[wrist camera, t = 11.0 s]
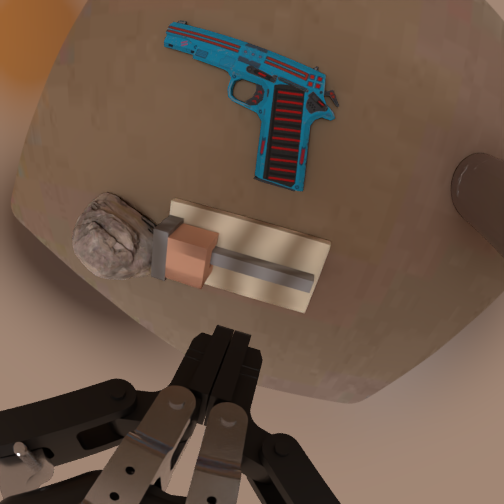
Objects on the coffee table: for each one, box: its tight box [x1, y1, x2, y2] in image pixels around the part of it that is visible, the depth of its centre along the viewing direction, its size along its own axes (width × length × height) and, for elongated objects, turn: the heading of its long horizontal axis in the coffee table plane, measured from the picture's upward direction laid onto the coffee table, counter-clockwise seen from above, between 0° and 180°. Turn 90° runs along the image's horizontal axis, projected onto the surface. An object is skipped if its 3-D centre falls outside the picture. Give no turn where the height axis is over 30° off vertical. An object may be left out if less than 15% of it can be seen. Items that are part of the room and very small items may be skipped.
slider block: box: [165, 223, 219, 289], centre depth 39 cm, size 5×6×5 cm
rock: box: [72, 193, 157, 280], centre depth 40 cm, size 15×12×10 cm
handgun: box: [164, 21, 339, 191], centre depth 33 cm, size 23×3×15 cm
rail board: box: [151, 198, 331, 313], centre depth 39 cm, size 21×11×6 cm, turn 77°
